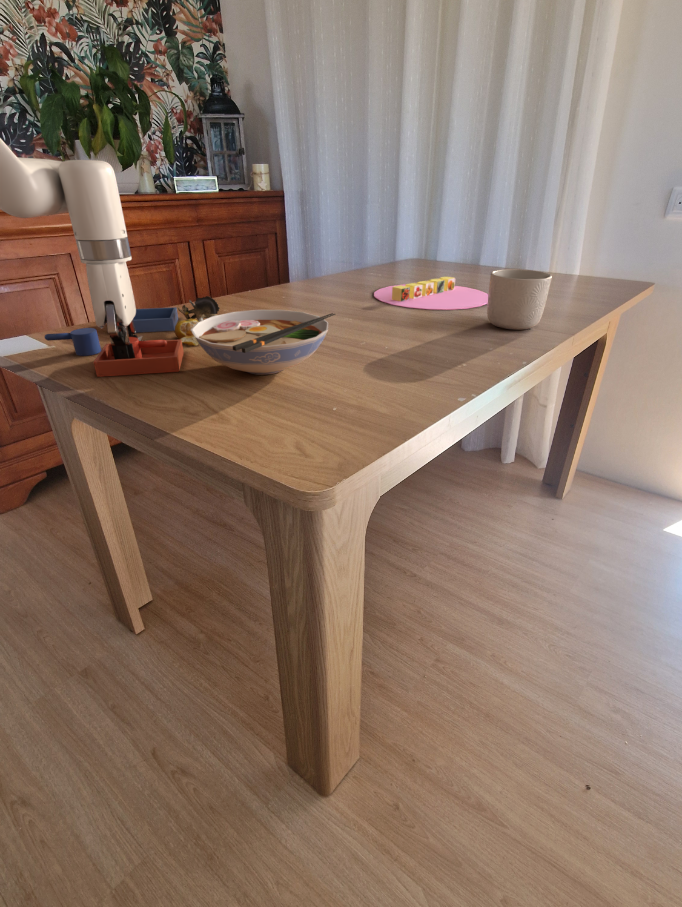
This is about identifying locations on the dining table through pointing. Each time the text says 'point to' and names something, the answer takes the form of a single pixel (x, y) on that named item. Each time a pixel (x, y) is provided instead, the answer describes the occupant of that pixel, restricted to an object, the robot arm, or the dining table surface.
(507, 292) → the planter
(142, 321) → the blue tray
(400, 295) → the platter
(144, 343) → the red scoop
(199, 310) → the brown figurine
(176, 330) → the fruit
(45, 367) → the dining table surface
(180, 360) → the red tray
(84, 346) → the blue scoop
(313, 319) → the ramen bowl
